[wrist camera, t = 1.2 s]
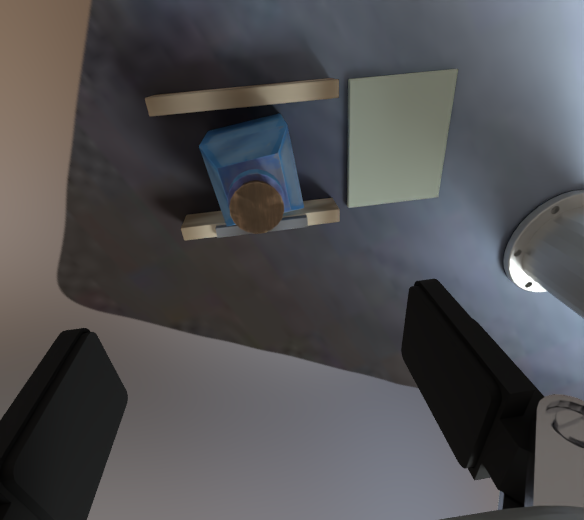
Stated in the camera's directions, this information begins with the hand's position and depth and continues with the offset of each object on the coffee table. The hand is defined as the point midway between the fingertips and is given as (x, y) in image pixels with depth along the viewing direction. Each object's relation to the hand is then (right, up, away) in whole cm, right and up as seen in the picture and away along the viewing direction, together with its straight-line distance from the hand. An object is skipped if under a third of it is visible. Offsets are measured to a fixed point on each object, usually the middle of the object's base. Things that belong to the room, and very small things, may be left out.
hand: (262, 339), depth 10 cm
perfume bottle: (-2, +12, +19) cm, 23 cm away
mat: (+10, +13, +20) cm, 26 cm away
